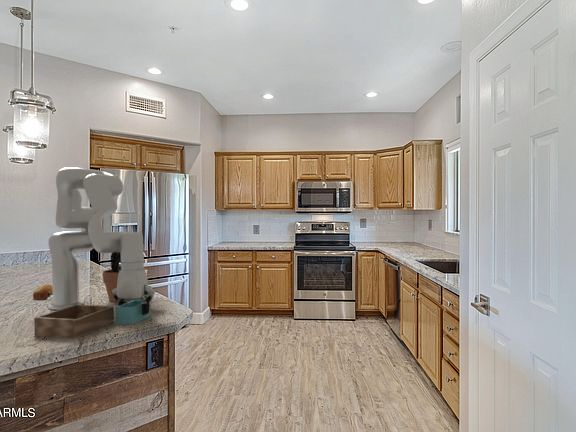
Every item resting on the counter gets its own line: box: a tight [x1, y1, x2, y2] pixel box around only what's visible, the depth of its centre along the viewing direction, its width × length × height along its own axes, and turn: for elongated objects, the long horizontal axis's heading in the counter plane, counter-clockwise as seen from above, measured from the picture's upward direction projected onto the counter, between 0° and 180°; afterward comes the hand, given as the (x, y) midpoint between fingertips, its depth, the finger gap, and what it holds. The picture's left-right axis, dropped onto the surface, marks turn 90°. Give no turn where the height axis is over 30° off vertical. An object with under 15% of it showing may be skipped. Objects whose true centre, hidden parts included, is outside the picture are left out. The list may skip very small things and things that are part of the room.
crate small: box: [115, 300, 151, 326], centre depth 124 cm, size 7×10×6 cm, turn 167°
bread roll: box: [32, 284, 53, 301], centre depth 162 cm, size 10×10×8 cm
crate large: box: [33, 304, 115, 339], centre depth 115 cm, size 16×16×6 cm
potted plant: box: [102, 252, 129, 303], centre depth 155 cm, size 14×14×25 cm
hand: (133, 313), depth 123 cm, fingers open, 9 cm apart
